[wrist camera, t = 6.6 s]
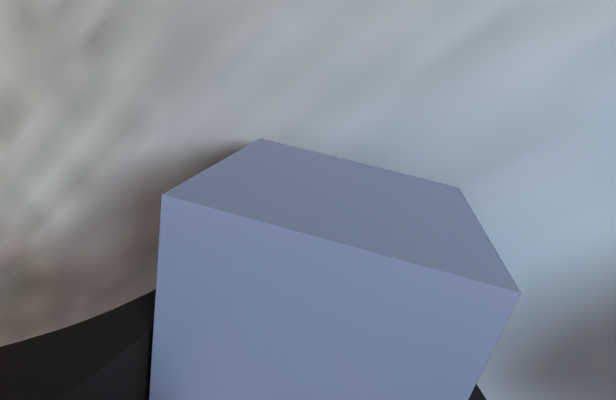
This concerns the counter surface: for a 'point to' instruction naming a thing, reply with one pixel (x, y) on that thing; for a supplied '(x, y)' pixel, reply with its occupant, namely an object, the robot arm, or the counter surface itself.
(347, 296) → the blue-gray rectangular block
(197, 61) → the counter surface
